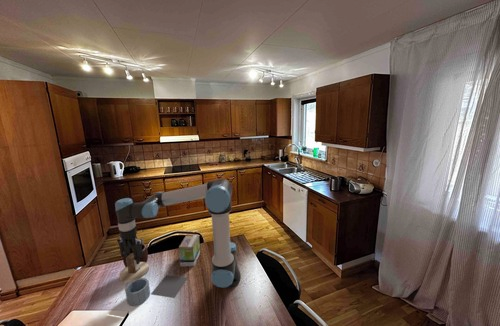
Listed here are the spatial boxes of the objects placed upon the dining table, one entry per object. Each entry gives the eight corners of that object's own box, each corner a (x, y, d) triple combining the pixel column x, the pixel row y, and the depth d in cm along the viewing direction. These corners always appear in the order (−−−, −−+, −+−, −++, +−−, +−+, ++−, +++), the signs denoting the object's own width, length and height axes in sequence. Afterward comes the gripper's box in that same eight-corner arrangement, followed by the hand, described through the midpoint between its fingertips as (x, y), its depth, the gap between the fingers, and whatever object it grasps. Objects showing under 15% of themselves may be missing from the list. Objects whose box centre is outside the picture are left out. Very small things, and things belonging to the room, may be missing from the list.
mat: (188, 278, 126) (188, 277, 126) (174, 298, 111) (174, 297, 111) (166, 275, 129) (166, 274, 129) (150, 294, 115) (150, 294, 114)
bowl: (154, 291, 117) (152, 279, 115) (140, 308, 106) (138, 295, 105) (137, 288, 119) (135, 277, 118) (122, 305, 109) (120, 292, 107)
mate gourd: (139, 282, 124) (135, 253, 120) (120, 279, 127) (115, 250, 123) (156, 265, 139) (152, 238, 135) (138, 263, 142) (134, 237, 138)
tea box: (194, 266, 136) (193, 247, 133) (180, 267, 136) (177, 247, 134) (200, 252, 151) (198, 234, 148) (187, 253, 151) (185, 235, 148)
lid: (154, 264, 115) (152, 249, 113) (136, 283, 101) (133, 266, 100) (133, 262, 118) (130, 246, 116) (112, 280, 104) (109, 263, 102)
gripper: (147, 225, 106) (152, 265, 111) (119, 223, 110) (126, 261, 114) (136, 233, 99) (142, 275, 104) (107, 230, 103) (114, 271, 107)
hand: (134, 268), depth 109 cm, fingers closed on lid, 4 cm apart
